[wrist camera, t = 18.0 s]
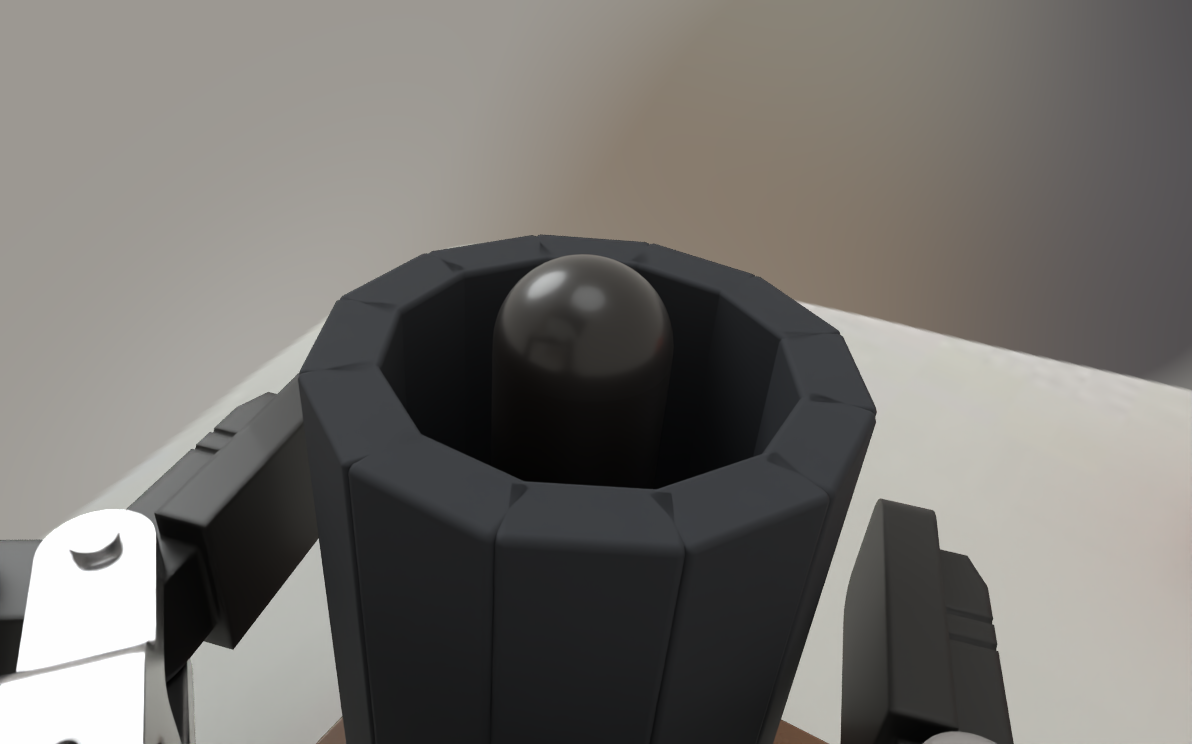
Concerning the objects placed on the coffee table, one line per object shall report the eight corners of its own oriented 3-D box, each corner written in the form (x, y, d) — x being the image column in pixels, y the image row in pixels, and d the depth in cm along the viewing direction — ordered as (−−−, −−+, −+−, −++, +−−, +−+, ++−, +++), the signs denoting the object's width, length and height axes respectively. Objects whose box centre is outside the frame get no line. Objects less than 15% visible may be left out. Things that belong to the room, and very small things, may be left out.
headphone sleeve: (290, 895, 14) (172, 381, 8) (505, 642, 18) (520, 199, 13) (616, 1147, 12) (744, 665, 6) (771, 788, 16) (926, 325, 11)
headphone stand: (156, 959, 14) (-129, 300, 7) (483, 602, 21) (489, 89, 14) (647, 1386, 11) (946, 883, 4) (848, 795, 17) (1084, 238, 11)
